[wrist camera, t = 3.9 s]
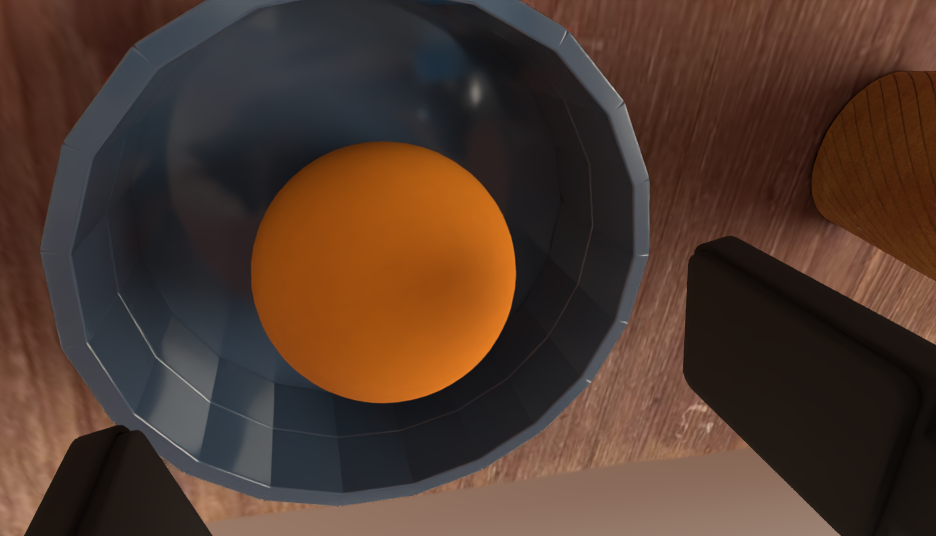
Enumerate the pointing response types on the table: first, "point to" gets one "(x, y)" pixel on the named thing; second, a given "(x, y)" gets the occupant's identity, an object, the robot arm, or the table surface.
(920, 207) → the disposable coffee cup
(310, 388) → the fruit bowl
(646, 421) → the table surface
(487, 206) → the orange
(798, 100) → the table surface
